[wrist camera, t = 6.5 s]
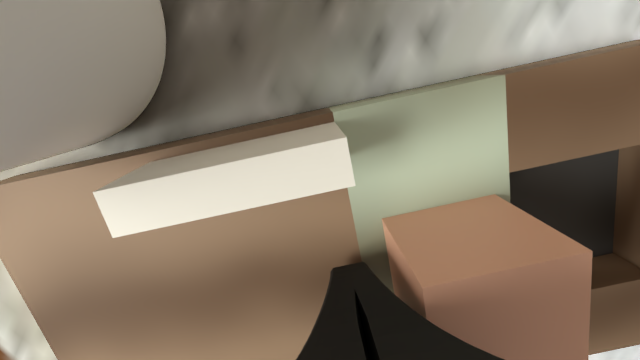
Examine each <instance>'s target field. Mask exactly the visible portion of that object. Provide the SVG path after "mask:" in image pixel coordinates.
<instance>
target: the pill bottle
mask: <svg viewBox="0 0 640 360" xmlns="http://www.w3.org/2000/svg"><path fill="white" fill-rule="evenodd" d="M165 54H166V30H165V21H164V15H163V10H162V6H161V2H160V0H0V172H2V171H5V170H8V169H12V168H15V167H18V166H22V165H25V164H29V163H32V162H35V161H39V160H42V159H46V158H49V157H52V156H56V155H59V154H62V153H66V152H69V151H73V150H76V149H79V148H83V147H86V146H89V145H92V144H95V143H98V142H100V141H102V140H104V139H106V138H108V137H110V136H112V135H114V134H116V133H118V132H119V131H121V130H123V129H124V128H126V127H127V126H128V125H129V124H131V123H132V122H133V121H134V120H135V119H136V118H137V117H138V116H139V115H140V114H141V113H142V112H143V110H144V109H145V108H146V107H147V105H148V104H149V102H150V101H151V99H152V97H153V95H154V93H155V91H156V89H157V87H158V84H159V82H160V79H161V75H162V72H163V67H164V62H165Z"/></svg>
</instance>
